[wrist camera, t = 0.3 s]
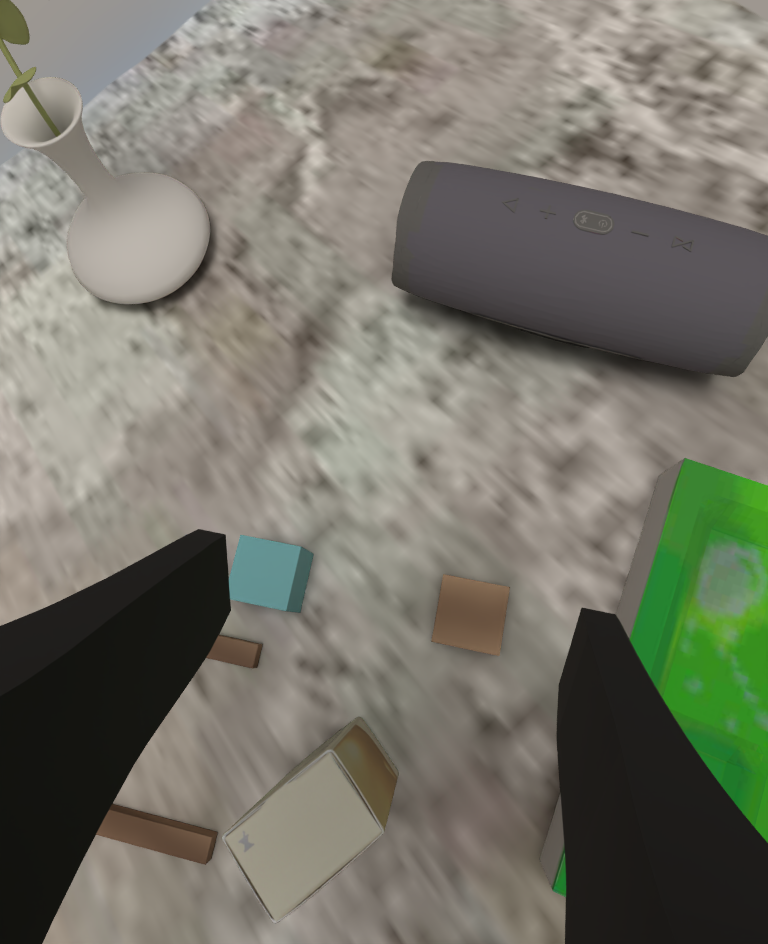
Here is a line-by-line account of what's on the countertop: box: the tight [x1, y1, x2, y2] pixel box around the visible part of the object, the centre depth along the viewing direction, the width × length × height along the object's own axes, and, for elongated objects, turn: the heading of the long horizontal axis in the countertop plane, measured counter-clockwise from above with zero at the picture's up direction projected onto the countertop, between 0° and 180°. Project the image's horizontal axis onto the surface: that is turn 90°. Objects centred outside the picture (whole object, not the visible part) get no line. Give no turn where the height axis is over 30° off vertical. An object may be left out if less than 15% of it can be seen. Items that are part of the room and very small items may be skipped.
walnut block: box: [431, 574, 510, 656], centre depth 38 cm, size 4×4×4 cm
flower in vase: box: [0, 0, 210, 304], centre depth 37 cm, size 13×11×25 cm
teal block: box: [229, 535, 313, 613], centre depth 40 cm, size 4×4×4 cm
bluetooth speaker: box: [392, 161, 768, 377], centre depth 40 cm, size 23×9×10 cm, turn 70°
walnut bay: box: [96, 635, 263, 864], centre depth 39 cm, size 13×12×1 cm
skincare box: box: [222, 717, 399, 923], centre depth 32 cm, size 6×4×12 cm
